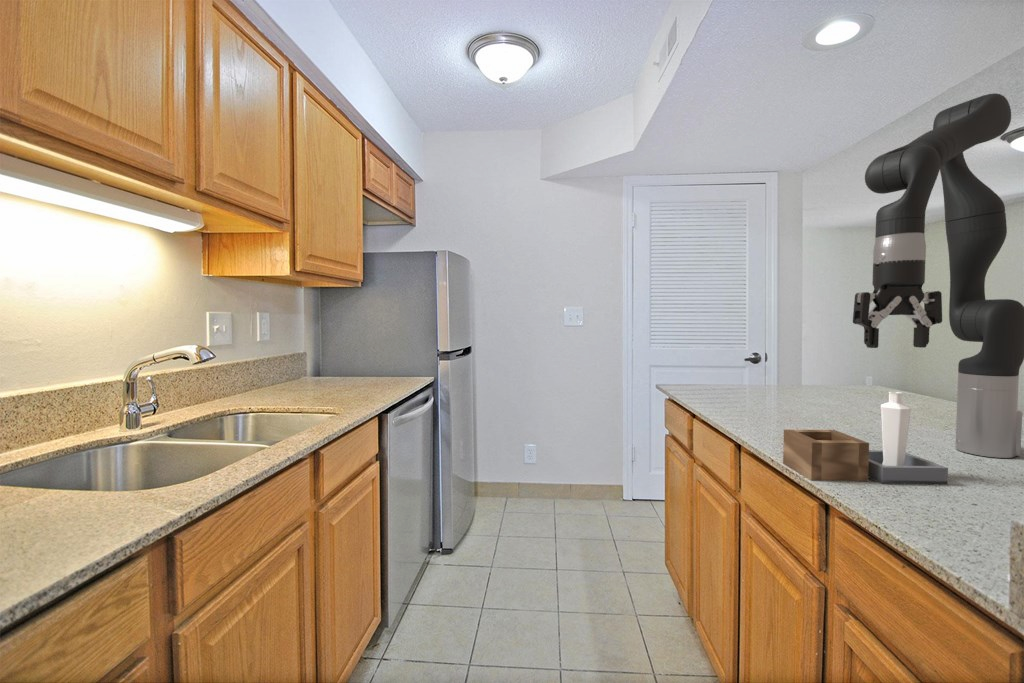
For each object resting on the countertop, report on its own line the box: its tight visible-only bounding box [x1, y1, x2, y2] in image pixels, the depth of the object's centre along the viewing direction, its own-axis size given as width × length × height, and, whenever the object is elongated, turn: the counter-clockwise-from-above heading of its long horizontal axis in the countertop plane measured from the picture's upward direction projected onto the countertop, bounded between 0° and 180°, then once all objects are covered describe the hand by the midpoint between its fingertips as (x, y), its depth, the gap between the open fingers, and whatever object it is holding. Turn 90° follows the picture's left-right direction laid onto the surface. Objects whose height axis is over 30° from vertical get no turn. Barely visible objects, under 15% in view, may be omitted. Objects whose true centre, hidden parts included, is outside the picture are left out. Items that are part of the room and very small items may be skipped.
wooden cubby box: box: [782, 429, 870, 482], centre depth 90 cm, size 10×10×7 cm
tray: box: [868, 449, 949, 486], centre depth 89 cm, size 11×11×3 cm
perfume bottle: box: [880, 391, 912, 466], centre depth 88 cm, size 5×4×15 cm
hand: (895, 347), depth 88 cm, fingers open, 8 cm apart
